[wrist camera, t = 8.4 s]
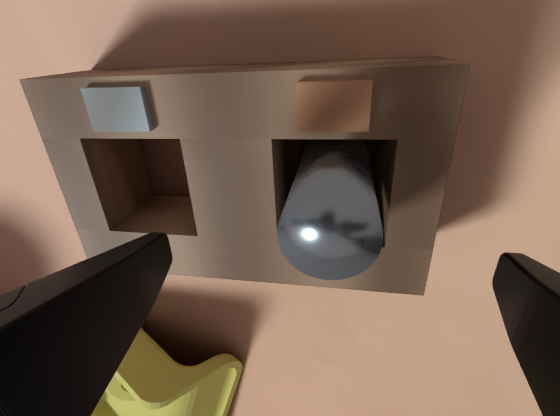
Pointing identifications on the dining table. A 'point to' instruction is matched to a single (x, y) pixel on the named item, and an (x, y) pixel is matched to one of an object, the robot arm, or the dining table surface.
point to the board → (250, 157)
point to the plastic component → (168, 384)
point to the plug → (332, 212)
